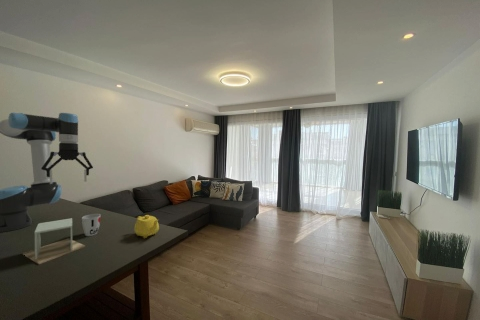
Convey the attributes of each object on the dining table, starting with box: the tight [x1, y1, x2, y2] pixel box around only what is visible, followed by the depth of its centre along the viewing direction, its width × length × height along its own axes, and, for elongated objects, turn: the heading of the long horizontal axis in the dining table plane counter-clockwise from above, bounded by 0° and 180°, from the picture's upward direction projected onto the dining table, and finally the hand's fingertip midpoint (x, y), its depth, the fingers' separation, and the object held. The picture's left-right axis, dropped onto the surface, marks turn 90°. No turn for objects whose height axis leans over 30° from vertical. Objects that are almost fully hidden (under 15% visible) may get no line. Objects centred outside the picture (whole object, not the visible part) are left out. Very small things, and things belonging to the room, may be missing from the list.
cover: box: [34, 217, 73, 259], centre depth 86 cm, size 12×12×12 cm
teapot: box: [133, 214, 160, 239], centre depth 105 cm, size 18×11×11 cm, turn 60°
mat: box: [22, 237, 86, 265], centre depth 86 cm, size 16×16×1 cm
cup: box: [81, 213, 101, 237], centre depth 103 cm, size 8×8×10 cm
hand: (69, 182), depth 101 cm, fingers open, 13 cm apart
